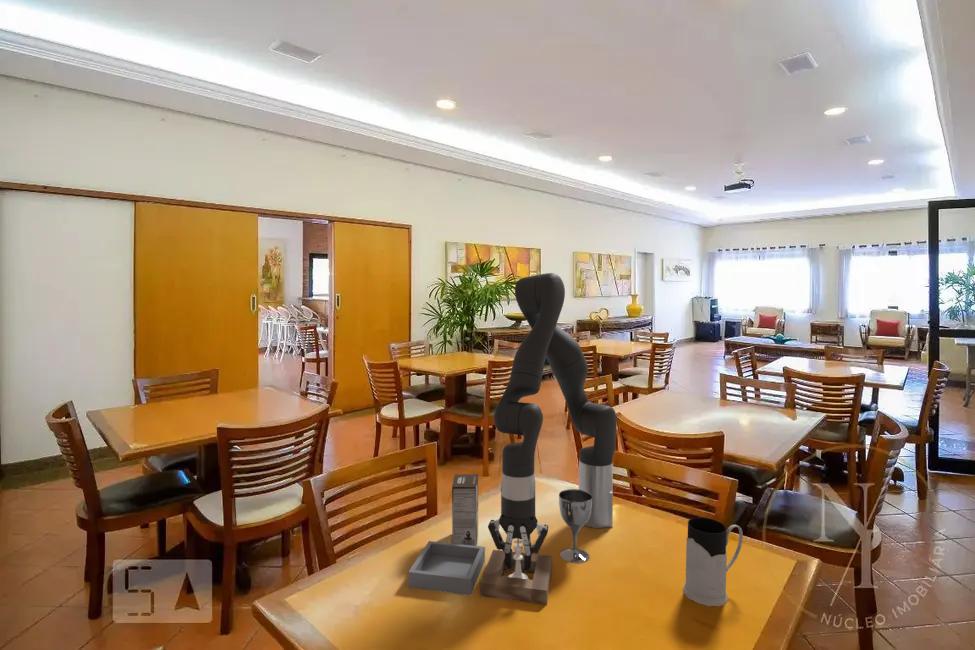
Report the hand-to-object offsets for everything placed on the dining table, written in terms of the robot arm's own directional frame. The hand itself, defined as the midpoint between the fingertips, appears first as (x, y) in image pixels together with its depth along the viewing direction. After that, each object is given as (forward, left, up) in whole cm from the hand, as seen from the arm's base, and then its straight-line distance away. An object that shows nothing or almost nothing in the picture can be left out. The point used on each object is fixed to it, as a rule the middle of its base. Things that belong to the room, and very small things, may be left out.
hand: (518, 567), depth 111 cm
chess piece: (0, 0, -3) cm, 3 cm away
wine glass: (-12, -14, -3) cm, 19 cm away
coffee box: (+16, -16, -3) cm, 23 cm away
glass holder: (-42, -5, -3) cm, 42 cm away
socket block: (0, 0, -3) cm, 3 cm away
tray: (+16, 0, -3) cm, 16 cm away
